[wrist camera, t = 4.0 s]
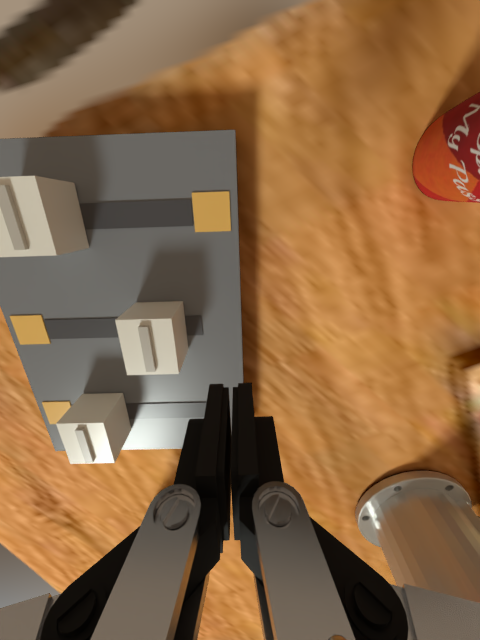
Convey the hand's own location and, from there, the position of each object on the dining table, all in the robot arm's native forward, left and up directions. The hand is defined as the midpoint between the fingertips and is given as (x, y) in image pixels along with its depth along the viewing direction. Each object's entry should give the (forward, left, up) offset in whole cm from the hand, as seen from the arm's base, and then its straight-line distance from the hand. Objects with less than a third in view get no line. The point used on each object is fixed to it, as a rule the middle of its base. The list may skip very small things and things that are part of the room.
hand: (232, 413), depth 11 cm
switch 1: (+12, -8, -10) cm, 17 cm away
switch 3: (+6, 0, -10) cm, 12 cm away
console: (+9, 0, -13) cm, 15 cm away
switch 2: (+12, +8, -10) cm, 18 cm away
